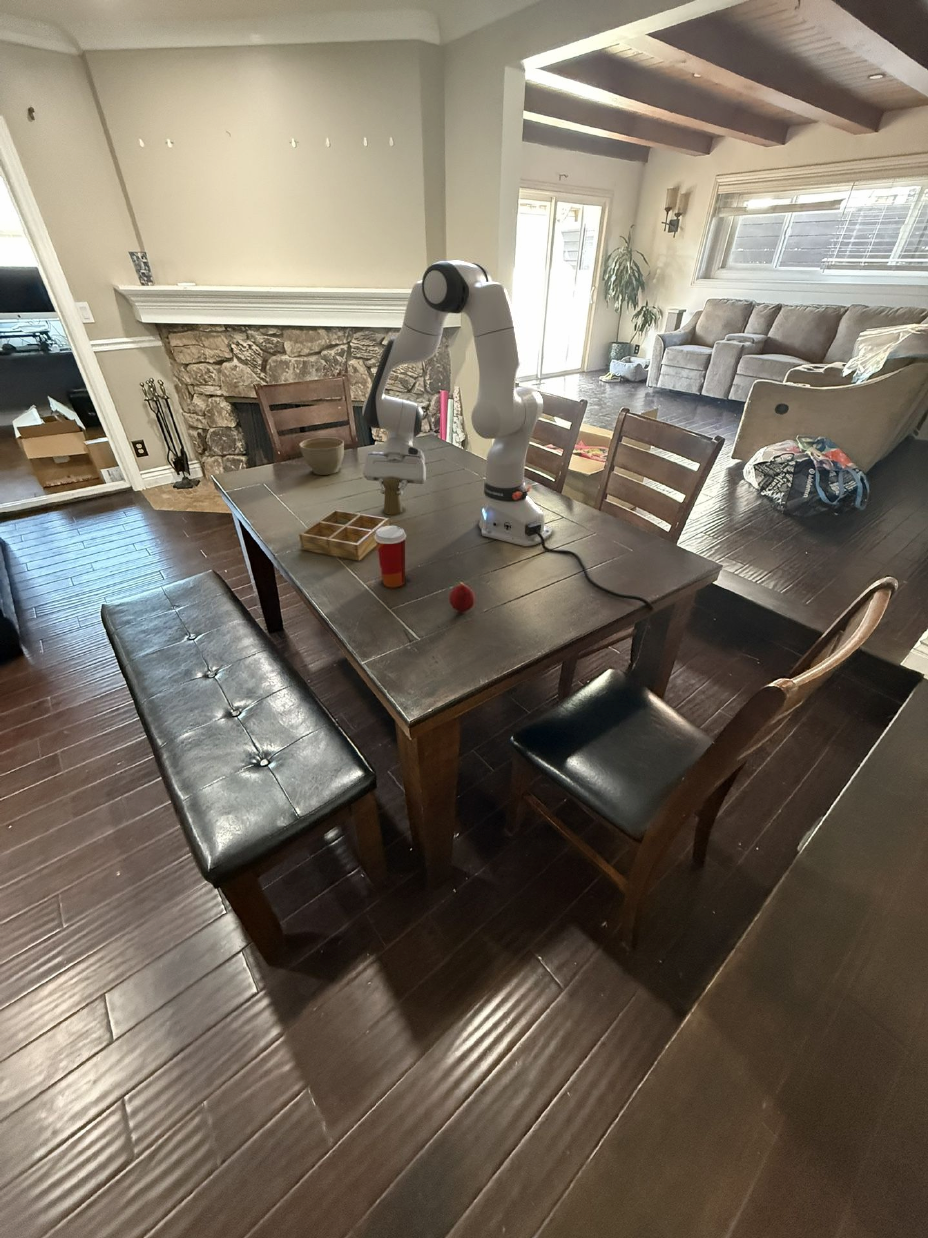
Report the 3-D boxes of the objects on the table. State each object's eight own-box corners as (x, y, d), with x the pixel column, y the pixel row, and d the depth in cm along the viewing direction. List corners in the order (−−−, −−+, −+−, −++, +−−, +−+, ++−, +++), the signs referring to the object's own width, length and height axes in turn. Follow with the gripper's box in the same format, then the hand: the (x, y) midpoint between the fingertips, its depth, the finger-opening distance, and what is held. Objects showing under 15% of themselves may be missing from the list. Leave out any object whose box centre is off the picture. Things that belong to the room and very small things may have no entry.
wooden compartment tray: (389, 533, 153) (388, 518, 151) (359, 560, 139) (357, 544, 137) (336, 523, 159) (334, 509, 156) (301, 549, 144) (298, 534, 142)
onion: (473, 605, 122) (474, 576, 117) (475, 618, 117) (475, 589, 113) (449, 605, 122) (449, 576, 117) (449, 619, 117) (449, 589, 112)
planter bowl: (355, 469, 199) (352, 440, 193) (326, 481, 188) (321, 451, 182) (325, 461, 206) (321, 434, 200) (295, 473, 195) (290, 444, 189)
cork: (401, 514, 165) (399, 481, 158) (382, 514, 165) (379, 481, 158) (403, 507, 170) (401, 474, 163) (385, 506, 170) (382, 474, 163)
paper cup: (394, 571, 135) (390, 521, 127) (415, 580, 131) (412, 530, 123) (372, 582, 130) (366, 532, 122) (393, 593, 126) (389, 541, 118)
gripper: (364, 446, 164) (357, 487, 161) (426, 450, 161) (420, 491, 159) (370, 456, 170) (363, 495, 168) (429, 460, 167) (423, 500, 165)
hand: (391, 493), depth 163 cm, fingers closed on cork, 4 cm apart
